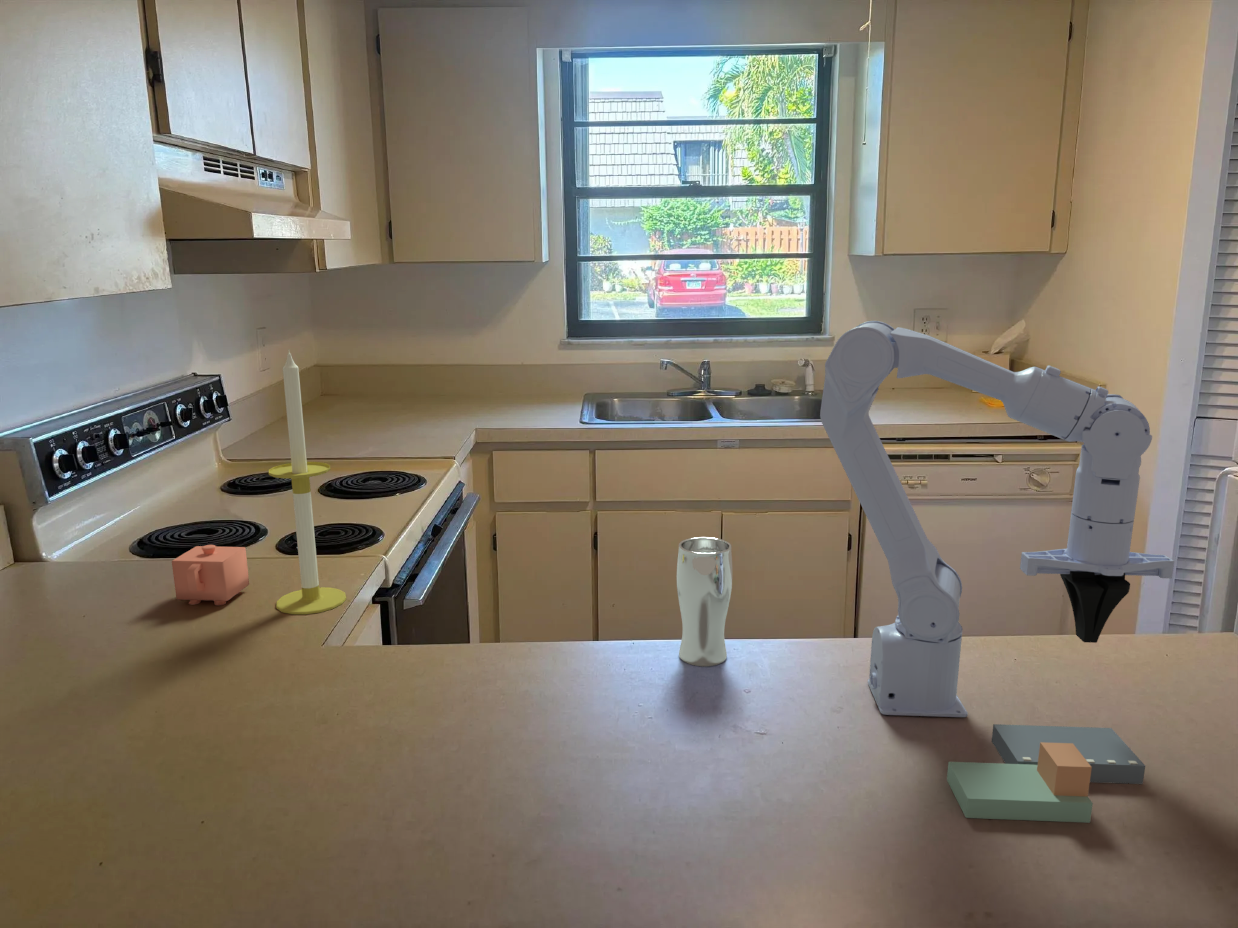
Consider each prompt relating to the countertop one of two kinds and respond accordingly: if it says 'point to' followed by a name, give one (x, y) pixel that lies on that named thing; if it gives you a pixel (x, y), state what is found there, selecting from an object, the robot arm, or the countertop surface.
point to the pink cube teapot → (210, 574)
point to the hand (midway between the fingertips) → (1086, 638)
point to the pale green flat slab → (1026, 787)
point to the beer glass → (704, 598)
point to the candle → (302, 507)
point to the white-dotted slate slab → (1094, 744)
